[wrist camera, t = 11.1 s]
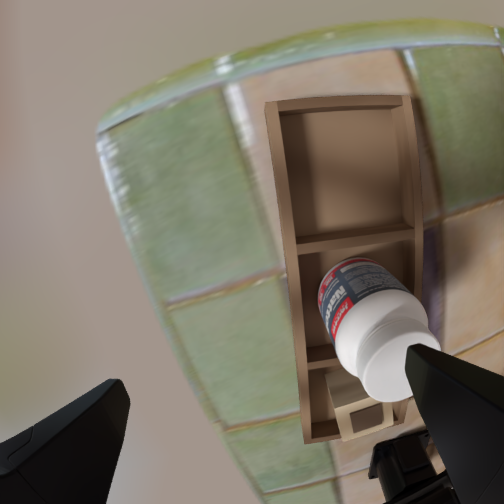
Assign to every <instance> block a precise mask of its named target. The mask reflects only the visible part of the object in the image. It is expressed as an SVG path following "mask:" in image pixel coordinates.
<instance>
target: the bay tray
mask: <svg viewBox="0 0 504 504" xmlns="http://www.w3.org/2000/svg"><path fill="white" fill-rule="evenodd" d="M264 111H265V117H266V124H267V130H268V137H269V144H270V150H271V157H272V164H273V171H274V178H275V186H276V193H277V200H278V208H279V216H280V223H281V231H282V239H283V247H284V255H285V264H286V272H287V281H288V290H289V299H290V308H291V317H292V326H293V336H294V346H295V356H296V367H297V378H298V389H299V400H300V412H301V424H302V431H303V438H304V444H311V443H317V442H323V441H329V440H334V439H340V438H342V437H341V434H340V430H339V427H338V423H337V419H336V416H335V412H334V409H333V405H332V401H331V397H330V393H329V390H328V386H327V382H326V378H325V375H324V374H327V373H330V372H333V371H336V370H339V369H342V368H344V367H343V366H342V364H341V363H340V361H339V359H338V356H337V354H336V352H335V349H334V346H333V344H332V341H331V339H330V336H329V333H328V331H327V328H326V326H325V323H324V321H323V318H322V316H321V313H320V310H319V307H318V290H319V287H320V284H321V282H322V280H323V278H324V277H325V275H326V274H327V273H328V271H329V270H330V269H332V268H333V267H334V266H335V265H337V264H338V263H340V262H342V261H344V260H347V259H350V258H357V257H361V258H368V259H371V260H374V261H376V262H377V263H379V264H380V265H381V266H383V267H384V268H385V269H386V270H387V271H388V272H389V273H390V274H392V275H393V276H394V277H395V278H396V279H397V280H398V281H399V282H400V283H401V284H402V285H403V286H405V287H406V288H407V289H408V290H409V291H410V292H411V293H412V294H413V295H414V296H415V297H416V298H417V299H418V300H419V302H420V303H421V298H422V280H423V207H422V189H421V175H420V164H419V154H418V145H417V137H416V130H415V123H414V116H413V110H412V104H411V98H410V96H401V95H357V96H331V97H315V98H302V99H291V100H281V101H272V102H265V109H264ZM408 400H409V397H408V398H406V399H403V400H400V401H396V402H392V409H393V424H394V425H392V426H395V425H399V424H402V423H404V419H405V415H406V410H407V405H408ZM389 427H391V426H389ZM386 428H388V427H386Z"/></svg>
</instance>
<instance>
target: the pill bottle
mask: <svg viewBox="0 0 504 504" xmlns="http://www.w3.org/2000/svg"><path fill="white" fill-rule="evenodd" d="M318 307H319V310H320V313H321V316H322V318H323V321H324V323H325V326H326V328H327V331H328V333H329V336H330V339H331V341H332V344H333V346H334V349H335V352H336V354H337V356H338V359H339V361H340V363H341V364H342V366H343V367H344V368H345V369H346V370H347V371H348V372H349V373H351V374H352V375H354V376H356V377H358V378H359V379H360V381H361V383H362V385H363V387H364V389H365V391H366V392H367V393H368V395H369V396H370V397H372V398H373V399H375V400H378V401H381V402H396V401H400V400H403V399H406V398H408V397H411V396H412V395H413V393H412V390H411V388H410V385H409V382H408V380H407V377H406V374H405V360H406V352H407V348H408V346H409V345H413V344H417V343H421V344H424V345H426V346H429V347H431V348H434V349H436V350H439V351H441V348H440V344H439V342H438V341H437V339H436V338H435V336H434V335H433V334H432V333H431V332H430V331H429V329H428V318H427V315H426V312H425V309H424V307H423V306H422V304H421V303H420V302H419V300H418V299H417V298H416V297H415V296H414V295H413V294H412V293H411V292H410V291H409V290H408V289H407V288H406V287H405V286H403V285H402V284H401V283H400V282H399V281H398V280H397V279H396V278H395V277H394V276H393V275H392V274H390V273H389V272H388V271H387V270H386V269H385V268H384V267H383V266H381V265H380V264H379V263H377V262H376V261H374V260H371V259H368V258H361V257H357V258H350V259H347V260H344V261H342V262H340V263H338V264H337V265H335V266H334V267H333V268H332V269H330V270H329V271H328V273H327V274H326V275H325V277H324V278H323V280H322V282H321V284H320V287H319V290H318Z"/></svg>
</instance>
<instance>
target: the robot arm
mask: <svg viewBox="0 0 504 504" xmlns="http://www.w3.org/2000/svg"><path fill="white" fill-rule="evenodd" d="M405 374H406V377H407V380H408V382H409V385H410V388H411V390H412V393H413V396H414V399H415V402H416V405H417V407H418V410H419V412H420V414H421V417H422V419H423V421H424V423H425V425H426V427H427V429H428V430H425V431H422V432H419V433H416V434H413V435H410V436H407V437H403V438H400V439H396V440H393V441H389V442H385V443H382V444H378V445H376V446H375V447H374V448H373V453H372V458H371V463H370V468H369V473H368V477H369V479H374V478H379V481H380V484H381V487H382V490H383V493H384V496H385V499H386V502H385V503H383V504H504V376H502V375H499V374H497V373H494V372H491V371H489V370H486V369H484V368H481V367H479V366H476V365H474V364H471V363H469V362H466V361H464V360H461V359H459V358H456V357H454V356H451V355H449V354H446V353H444V352H441V351H439V350H436V349H434V348H431V347H429V346H426V345H424V344H421V343H417V344H413V345H409V346H408V348H407V352H406V360H405ZM129 409H130V398H129V395H128V393H127V391H126V389H125V387H124V384H123V382H122V381H121V380H120V379H108V380H106V381H105V382H103V383H101V384H100V385H98V386H97V387H95V388H93V389H92V390H91V391H89V392H87V393H85V394H84V395H82V396H81V397H79V398H77V399H76V400H74V401H73V402H71V403H69V404H68V405H66V406H64V407H63V408H61V409H59V410H58V411H56V412H55V413H53V414H51V415H50V416H48V417H46V418H45V419H43V420H41V421H40V422H38V423H36V424H35V425H34V426H31V427H30V428H28V429H26V430H24V431H23V432H21V433H19V434H17V435H16V436H14V437H12V438H10V439H8V440H6V441H4V442H2V443H0V504H106V502H107V498H108V494H109V491H110V487H111V483H112V479H113V476H114V472H115V469H116V465H117V461H118V458H119V455H120V452H121V448H122V444H123V441H124V436H125V430H126V424H127V419H128V414H129ZM430 436H431V437H432V439H433V441H434V444H435V446H436V448H437V450H438V452H439V454H440V457H441V459H442V461H443V463H444V465H445V468H446V469H445V471H443V472H442V473H440V474H438V475H437V473H436V471H435V469H434V467H433V465H432V462H431V460H430V458H429V456H428V454H427V452H426V447H427V444H428V442H429V439H430ZM451 488H453V489H451Z"/></svg>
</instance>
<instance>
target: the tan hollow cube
mask: <svg viewBox="0 0 504 504" xmlns="http://www.w3.org/2000/svg"><path fill="white" fill-rule="evenodd" d="M324 375H325V378H326V382H327V386H328V390H329V393H330V397H331V401H332V405H333V409H334V412H335V416H336V419H337V423H338V427H339V430H340V434H341V437H342V441H343V442H345V441H348V440H351V439H355V438H358V437H361V436H364V435H367V434H370V433H372V432H375V431H378V430H381V429H384V428H386V427H389V426H392V425H394V424H393V409H392V402H381V401H378V400H375V399H373V398H372V397H370V396H369V395H368V393H367V392H366V391H365V389H364V387H363V385H362V383H361V381H360V379H359V378H358V377H356V376H354V375H352V374H351V373H349V372H348V371H347V370H346V369H345V368H342V369H339V370H336V371H333V372H330V373H327V374H324Z"/></svg>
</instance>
